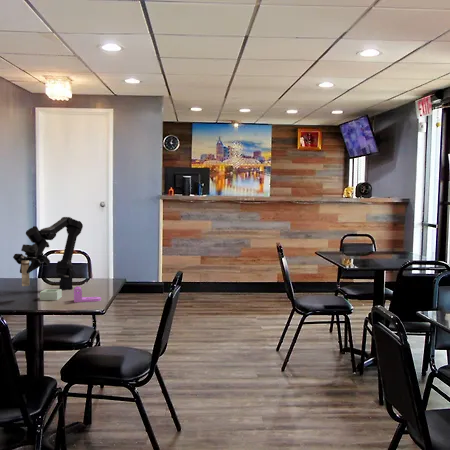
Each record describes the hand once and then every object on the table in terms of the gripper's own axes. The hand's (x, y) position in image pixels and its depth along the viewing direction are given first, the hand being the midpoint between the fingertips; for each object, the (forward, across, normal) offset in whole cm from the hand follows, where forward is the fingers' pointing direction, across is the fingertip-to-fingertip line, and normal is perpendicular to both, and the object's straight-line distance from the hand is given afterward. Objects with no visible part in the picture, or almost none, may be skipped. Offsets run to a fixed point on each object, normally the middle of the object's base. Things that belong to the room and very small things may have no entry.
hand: (23, 272), depth 251 cm
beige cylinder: (+4, 0, +6) cm, 7 cm away
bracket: (+3, +30, +17) cm, 35 cm away
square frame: (+4, +10, +15) cm, 19 cm away
